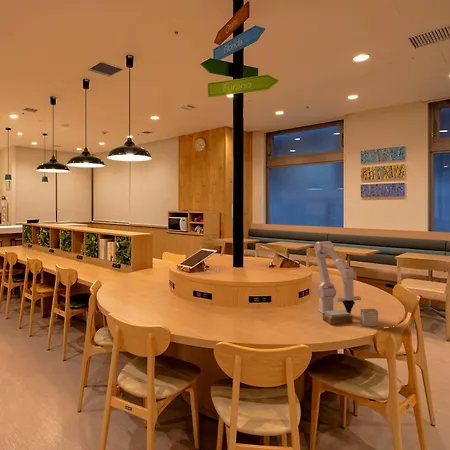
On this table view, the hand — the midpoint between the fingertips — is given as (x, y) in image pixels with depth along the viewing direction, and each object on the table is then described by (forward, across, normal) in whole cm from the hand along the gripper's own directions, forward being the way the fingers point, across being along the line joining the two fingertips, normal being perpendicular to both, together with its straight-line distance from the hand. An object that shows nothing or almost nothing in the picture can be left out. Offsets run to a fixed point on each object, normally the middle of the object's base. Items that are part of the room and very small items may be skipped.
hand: (348, 313), depth 204 cm
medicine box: (+4, +6, -11) cm, 13 cm away
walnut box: (+4, -7, 0) cm, 8 cm away
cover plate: (+1, -7, 0) cm, 7 cm away
